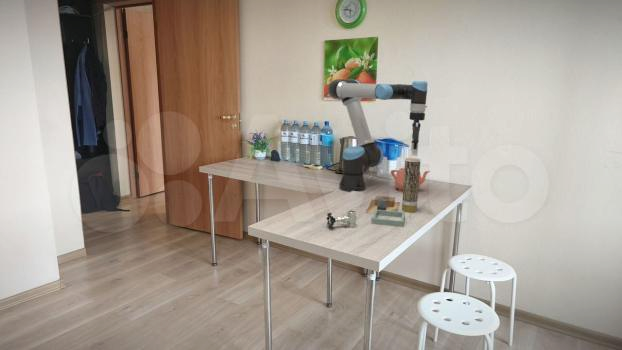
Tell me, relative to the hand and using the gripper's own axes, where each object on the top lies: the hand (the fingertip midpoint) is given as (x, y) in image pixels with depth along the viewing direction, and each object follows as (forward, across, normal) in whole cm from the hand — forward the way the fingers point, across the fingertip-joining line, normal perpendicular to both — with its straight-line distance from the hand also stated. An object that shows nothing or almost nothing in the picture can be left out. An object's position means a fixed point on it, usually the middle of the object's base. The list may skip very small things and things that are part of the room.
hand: (413, 153), depth 209 cm
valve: (+23, -57, +28) cm, 67 cm away
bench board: (+23, -28, +13) cm, 38 cm away
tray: (+23, -46, +10) cm, 52 cm away
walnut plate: (+22, -22, +13) cm, 34 cm away
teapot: (+24, +12, 0) cm, 26 cm away
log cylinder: (+23, -29, +1) cm, 37 cm away
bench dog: (+22, -36, +14) cm, 44 cm away
